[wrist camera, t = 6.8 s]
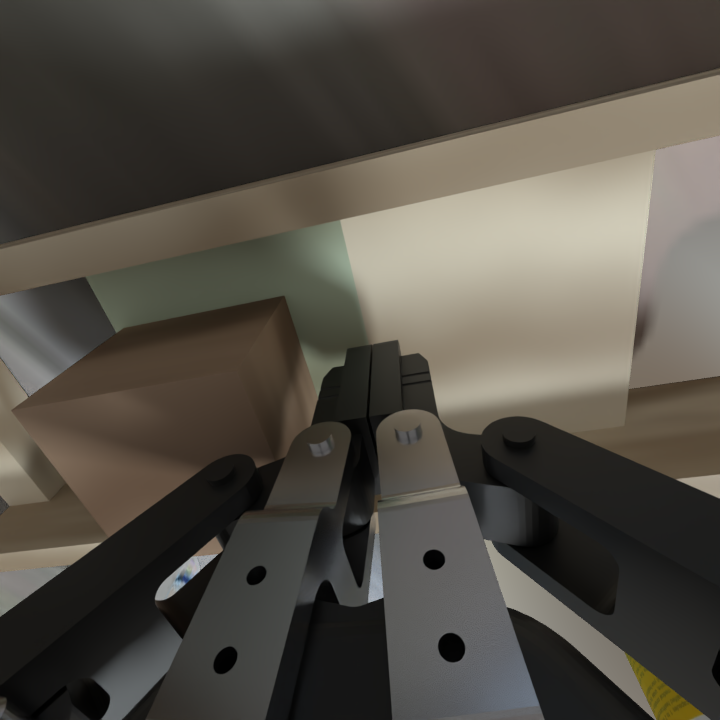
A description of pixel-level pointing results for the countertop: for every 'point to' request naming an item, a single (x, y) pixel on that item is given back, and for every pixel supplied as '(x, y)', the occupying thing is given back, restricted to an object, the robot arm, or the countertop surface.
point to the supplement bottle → (664, 697)
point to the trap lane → (411, 285)
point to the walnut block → (173, 406)
